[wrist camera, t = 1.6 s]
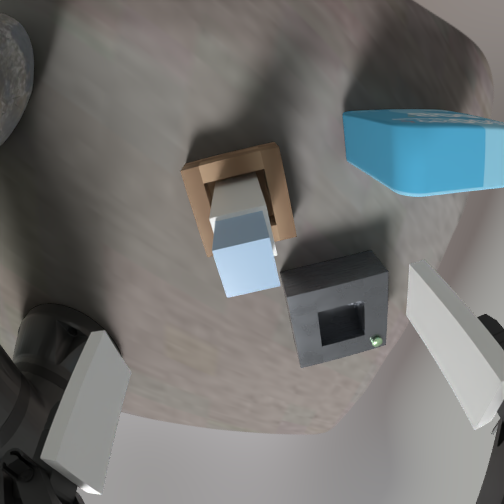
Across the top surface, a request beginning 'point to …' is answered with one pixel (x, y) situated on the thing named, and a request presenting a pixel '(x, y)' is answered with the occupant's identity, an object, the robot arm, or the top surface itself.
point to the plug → (242, 236)
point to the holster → (232, 165)
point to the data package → (426, 150)
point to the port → (337, 307)
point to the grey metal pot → (14, 73)
